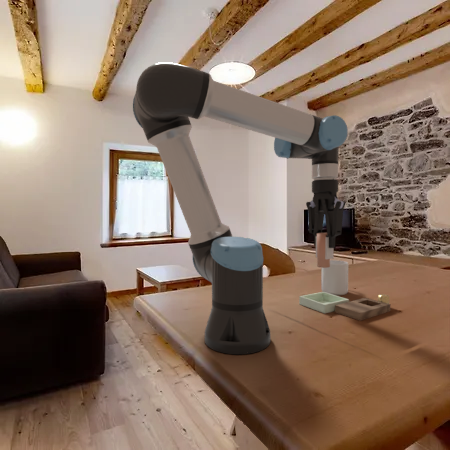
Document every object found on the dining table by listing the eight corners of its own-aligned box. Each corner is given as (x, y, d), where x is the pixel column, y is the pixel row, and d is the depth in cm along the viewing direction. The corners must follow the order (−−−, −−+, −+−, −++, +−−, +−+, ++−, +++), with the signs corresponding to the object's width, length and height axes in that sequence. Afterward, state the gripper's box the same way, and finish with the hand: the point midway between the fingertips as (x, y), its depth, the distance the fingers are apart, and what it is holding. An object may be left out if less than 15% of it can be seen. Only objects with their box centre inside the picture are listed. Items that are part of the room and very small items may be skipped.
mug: (342, 298, 108) (343, 265, 107) (317, 294, 113) (317, 262, 113) (354, 291, 117) (354, 260, 116) (330, 287, 122) (330, 258, 122)
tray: (324, 315, 91) (324, 304, 91) (299, 305, 100) (299, 296, 100) (348, 309, 96) (349, 299, 96) (322, 300, 105) (323, 291, 105)
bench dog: (384, 310, 94) (385, 297, 94) (375, 308, 97) (375, 295, 97) (391, 309, 96) (391, 296, 96) (381, 306, 99) (382, 293, 98)
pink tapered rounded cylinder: (323, 268, 95) (323, 234, 94) (314, 266, 98) (314, 233, 97) (332, 266, 96) (332, 233, 96) (323, 264, 100) (323, 232, 99)
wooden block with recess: (360, 324, 85) (360, 313, 85) (335, 315, 92) (335, 305, 92) (390, 314, 93) (390, 304, 93) (365, 307, 100) (365, 297, 99)
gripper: (356, 177, 91) (355, 260, 92) (314, 181, 105) (313, 253, 106) (337, 176, 87) (337, 263, 88) (296, 181, 101) (296, 255, 102)
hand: (324, 257), depth 97 cm, fingers closed on pink tapered rounded cylinder, 3 cm apart
